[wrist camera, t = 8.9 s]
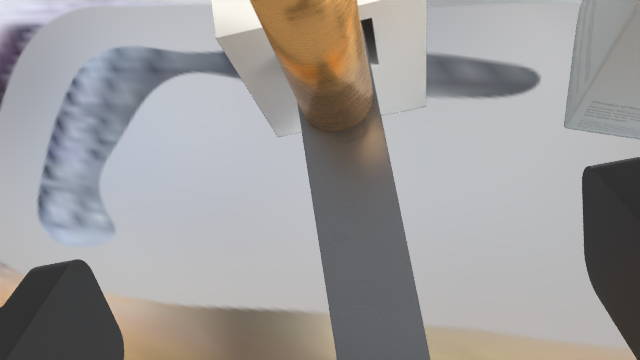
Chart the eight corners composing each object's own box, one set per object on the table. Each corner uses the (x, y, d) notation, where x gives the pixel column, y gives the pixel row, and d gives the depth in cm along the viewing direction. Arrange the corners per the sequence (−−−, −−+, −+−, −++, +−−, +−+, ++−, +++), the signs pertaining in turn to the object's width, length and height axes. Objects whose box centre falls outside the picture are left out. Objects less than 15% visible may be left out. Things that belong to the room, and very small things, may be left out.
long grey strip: (358, 9, 27) (318, -212, 17) (457, 499, 21) (490, 628, 11) (293, 23, 28) (216, -184, 17) (371, 511, 21) (323, 647, 11)
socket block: (407, 25, 33) (400, -118, 24) (425, 106, 32) (426, -11, 22) (266, 56, 34) (203, -70, 24) (277, 137, 33) (215, 37, 23)
